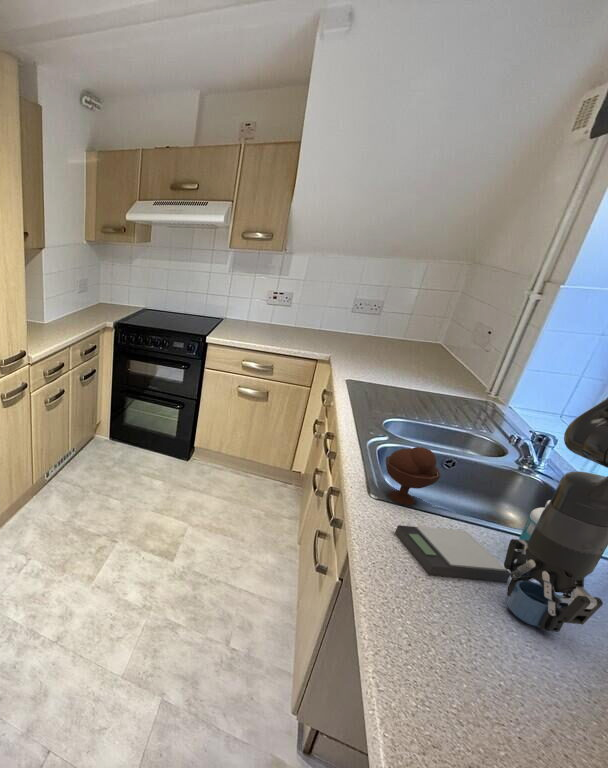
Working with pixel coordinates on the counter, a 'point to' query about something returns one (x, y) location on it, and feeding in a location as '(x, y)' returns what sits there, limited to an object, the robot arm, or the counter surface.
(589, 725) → the counter surface
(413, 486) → the ice cream bowl
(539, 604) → the blue cup
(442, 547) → the kitchen scale
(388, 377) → the counter surface
